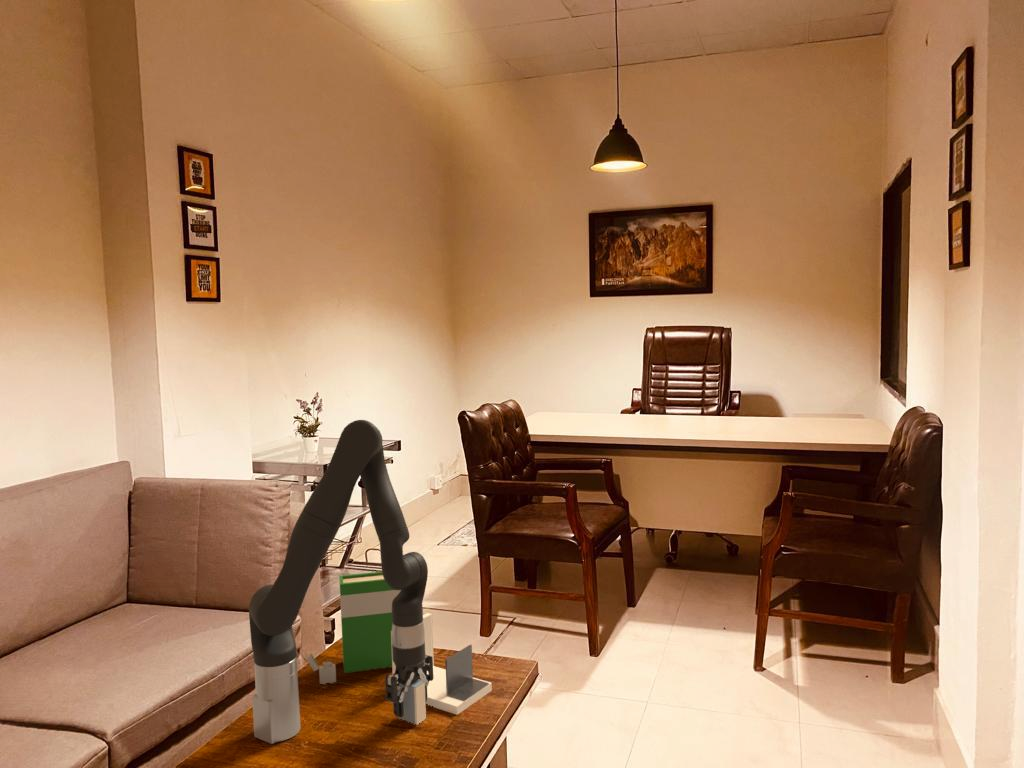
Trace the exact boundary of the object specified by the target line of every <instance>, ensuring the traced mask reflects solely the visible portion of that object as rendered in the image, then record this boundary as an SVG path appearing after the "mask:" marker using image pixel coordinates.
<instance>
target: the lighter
mask: <svg viewBox="0 0 1024 768" xmlns="http://www.w3.org/2000/svg"><path fill="white" fill-rule="evenodd" d="M305 659H306V661H308V664H309V666H310V667H311V669H312V671H313V672H316V671H317V670H318V676H319V677H318V679H319V685H320V684H323V685H327V684H326V683H330V684H335V683H334V682H336V683H337V668H336V663H333V662H332V661H323V662H322V665H320V664H318V662H317V661H316V659H315V657H314V656H313V654H312V652H310V653H309V654H307V655H306V656H305Z"/></svg>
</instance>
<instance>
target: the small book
mask: <svg viewBox="0 0 1024 768" xmlns="http://www.w3.org/2000/svg"><path fill="white" fill-rule="evenodd" d="M399 686H400V687H404V685H402V684H401V683H400V684H399ZM400 692H401V691H400V690H399V692H398V694H397V696H399V695H400ZM426 706H427V705H426V704H425V683H424V682H422V681H419V680H417V681H415V682H414V683H412V684H410V686H409V689H408V691H407V692H406V693H405V695H404V698H403V708H404V716H403V717H401V718H400V717H397V716H396V719H397V718H400V719H403V720H406V721H408V722H407V723H409V722H411V723H410V724H412V723H414V724H413V725H415V724H416V725H415V726H419V725H420V724H422V723H423V722H425V721H426V720H427V710H426V709H427V708H426ZM400 719H399V720H400ZM425 719H426V720H425ZM403 720H402V721H403ZM406 721H405V722H406ZM422 721H423V722H422ZM419 723H420V724H419Z"/></svg>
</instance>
